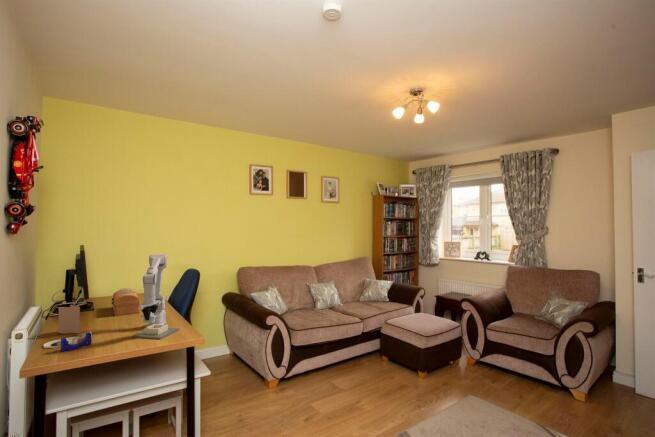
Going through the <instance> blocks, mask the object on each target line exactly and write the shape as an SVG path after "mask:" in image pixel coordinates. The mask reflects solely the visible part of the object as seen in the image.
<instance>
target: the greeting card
mask: <svg viewBox="0 0 655 437" xmlns="http://www.w3.org/2000/svg"><path fill="white" fill-rule="evenodd" d="M80 312H81V306H77V305H74V304H69V306H68V307H67V306H61V307H60V306H59V307H58V333H62V334H80V320H81V318H80Z"/></svg>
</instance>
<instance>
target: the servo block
mask: <svg viewBox="0 0 655 437" xmlns="http://www.w3.org/2000/svg"><path fill="white" fill-rule="evenodd" d="M155 317H158V315H154V313H152V312H150V318H149V320H145V317H144V314H142V315H140V318H142V323H145V324H149V323H153V322H155Z"/></svg>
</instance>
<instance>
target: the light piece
mask: <svg viewBox="0 0 655 437" xmlns="http://www.w3.org/2000/svg"><path fill="white" fill-rule="evenodd" d="M89 332H90V333H91V342H92V341H93V334H92V331H89ZM86 333H88V332H87V331H86V332H82V333H81V332H80V333H77V335H76V336H70V337H65V338H66V340H67V343H68V344H77V343H79V342H81V341H82V340H83V339H84V338H85V336H86ZM58 347H59V348H61V338H59V339H53V340H51V341H48V342H46V343H44V344H43V349H46V348H52V349H58Z"/></svg>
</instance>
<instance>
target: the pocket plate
mask: <svg viewBox="0 0 655 437" xmlns="http://www.w3.org/2000/svg"><path fill="white" fill-rule="evenodd" d="M178 331H180V328H179V327H178V328H177V327H169V325H168V324H164V325H162V324H153V325H151V326H148V327H144V328H143V330H142V331H139V332H136V333H134V334H132V335H131V338H135V339H137V338H138V339H150V340H151V339H152V340H162V339H164V338H167V337H169V336H170V335H173V334H174V333H176V332H178Z"/></svg>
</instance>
